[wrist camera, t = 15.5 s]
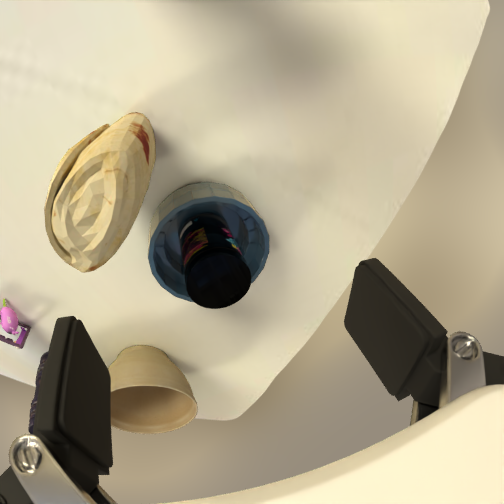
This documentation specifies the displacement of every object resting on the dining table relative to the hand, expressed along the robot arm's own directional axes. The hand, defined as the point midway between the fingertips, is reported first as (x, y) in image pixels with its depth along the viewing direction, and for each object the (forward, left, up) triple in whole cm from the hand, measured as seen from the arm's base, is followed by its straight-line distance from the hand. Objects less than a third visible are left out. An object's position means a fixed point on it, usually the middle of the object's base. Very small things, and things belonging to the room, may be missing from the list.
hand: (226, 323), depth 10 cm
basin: (+12, +2, -28) cm, 31 cm away
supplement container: (+12, +2, -28) cm, 30 cm away
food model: (-1, -6, -28) cm, 29 cm away
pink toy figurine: (+19, -32, -28) cm, 47 cm away
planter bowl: (+35, -12, -28) cm, 47 cm away
